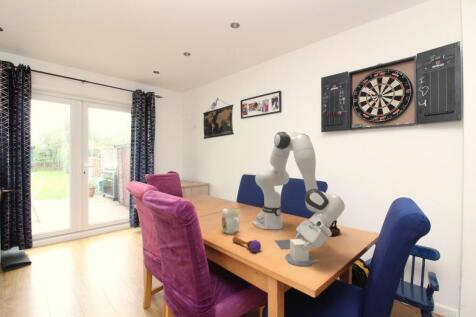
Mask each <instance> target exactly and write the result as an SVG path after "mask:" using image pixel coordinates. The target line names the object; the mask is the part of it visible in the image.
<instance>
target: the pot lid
mask: <svg viewBox="0 0 476 317" xmlns="http://www.w3.org/2000/svg"><path fill="white" fill-rule="evenodd" d="M284 258H285V260H286V262H287V263H288V264H289V265H290V264H291V265H292V266H296V267H309V266H311V265H313V264H314V261H315V260H314V258H313V257H312V256H311V255H309V261H304V262H295V261H294V260H293V259H292V258H291V256H290V253H287V254H286V255H285V257H284Z"/></svg>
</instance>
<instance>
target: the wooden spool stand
mask: <svg viewBox="0 0 476 317" xmlns="http://www.w3.org/2000/svg"><path fill="white" fill-rule="evenodd" d="M337 220H338V218H337V219H336V220H335V221H333V222H332V224H331V226H330V227H329V229H330V231H331V233H332V236H333V237H335V235H339V234H340V233H341V229H340V228H338V226H337V224H338V223H337V222H338V221H337Z"/></svg>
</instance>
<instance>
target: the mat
mask: <svg viewBox="0 0 476 317" xmlns="http://www.w3.org/2000/svg"><path fill="white" fill-rule="evenodd" d="M274 242H275V243H276V245H277V246H278V247H279V249H280V250H290V239H277V240H276V239H274Z"/></svg>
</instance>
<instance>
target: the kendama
mask: <svg viewBox="0 0 476 317" xmlns="http://www.w3.org/2000/svg"><path fill="white" fill-rule="evenodd" d="M231 241H232V242H233V243H235V244H240V245H241V244H242V245H246V247H247V248H248V249H249V250H250V251H251V252H253V253H258V252H260V251H261V249H262V244H261V242H260V241H259V240H256V239H253V240H249V241H245V240H244V239H241V238H239V237H237V236H233V237H232V240H231Z"/></svg>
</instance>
